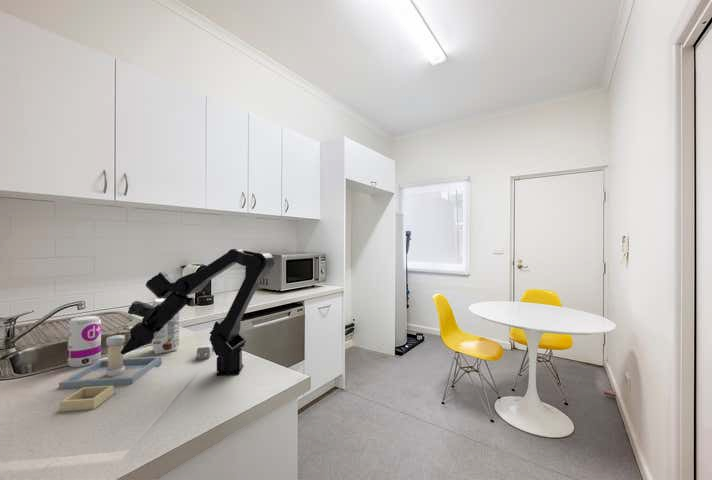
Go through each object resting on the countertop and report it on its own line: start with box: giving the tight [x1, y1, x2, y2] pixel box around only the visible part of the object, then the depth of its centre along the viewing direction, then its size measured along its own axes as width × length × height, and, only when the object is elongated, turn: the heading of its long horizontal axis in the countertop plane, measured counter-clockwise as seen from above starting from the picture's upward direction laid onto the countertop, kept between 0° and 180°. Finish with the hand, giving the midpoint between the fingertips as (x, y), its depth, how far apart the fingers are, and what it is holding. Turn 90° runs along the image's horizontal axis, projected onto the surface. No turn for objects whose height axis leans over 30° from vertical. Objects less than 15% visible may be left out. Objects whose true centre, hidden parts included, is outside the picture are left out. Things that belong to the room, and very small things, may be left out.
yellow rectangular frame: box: [55, 385, 117, 414], centre depth 73 cm, size 8×8×3 cm
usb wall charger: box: [196, 342, 213, 360], centre depth 104 cm, size 4×7×4 cm, turn 16°
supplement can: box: [67, 314, 102, 368], centre depth 100 cm, size 8×8×15 cm
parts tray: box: [58, 356, 162, 390], centre depth 89 cm, size 18×16×2 cm
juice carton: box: [151, 298, 180, 355], centre depth 112 cm, size 8×9×19 cm
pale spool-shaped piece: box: [105, 334, 126, 378], centre depth 90 cm, size 4×4×11 cm
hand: (126, 348), depth 90 cm, fingers open, 9 cm apart
